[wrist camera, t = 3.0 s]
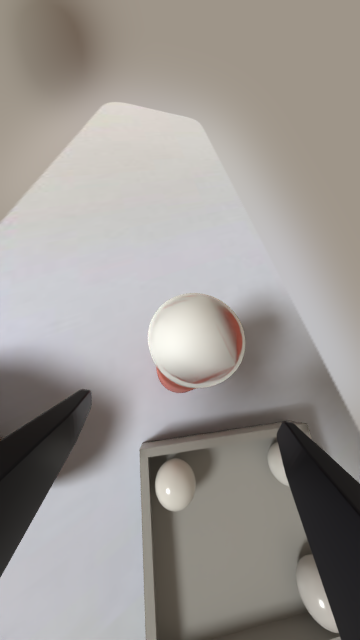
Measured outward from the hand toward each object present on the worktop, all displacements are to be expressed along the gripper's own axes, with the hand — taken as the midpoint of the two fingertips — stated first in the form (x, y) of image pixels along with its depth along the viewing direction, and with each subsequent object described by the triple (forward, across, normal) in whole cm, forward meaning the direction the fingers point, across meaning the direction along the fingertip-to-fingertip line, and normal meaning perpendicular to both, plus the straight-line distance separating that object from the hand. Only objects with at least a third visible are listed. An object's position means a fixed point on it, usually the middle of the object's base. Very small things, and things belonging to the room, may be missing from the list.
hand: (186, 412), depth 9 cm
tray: (+2, -6, +12) cm, 14 cm away
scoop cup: (+10, 0, +5) cm, 11 cm away
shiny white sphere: (0, -11, +13) cm, 18 cm away
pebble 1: (+3, -1, +10) cm, 11 cm away
